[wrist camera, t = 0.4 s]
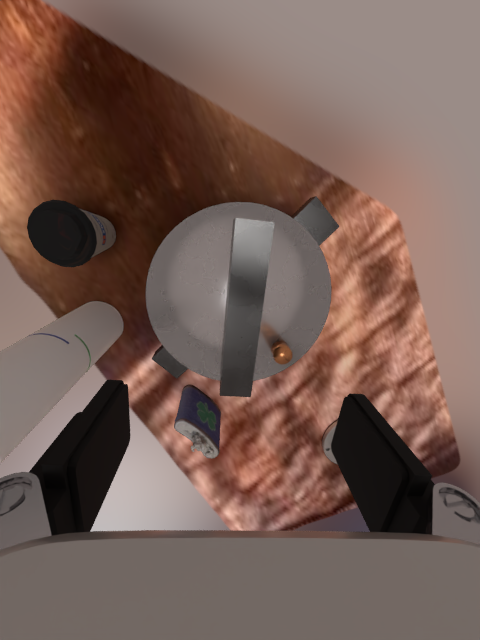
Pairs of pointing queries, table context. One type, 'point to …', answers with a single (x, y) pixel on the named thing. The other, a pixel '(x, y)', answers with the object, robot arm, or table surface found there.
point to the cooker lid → (238, 293)
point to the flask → (199, 421)
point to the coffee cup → (68, 233)
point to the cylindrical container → (50, 367)
